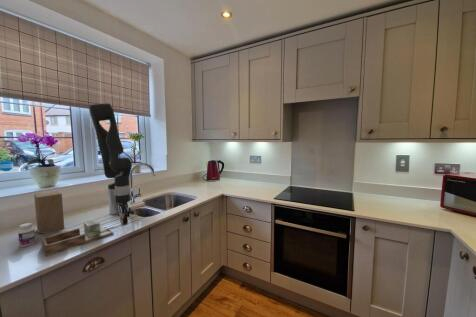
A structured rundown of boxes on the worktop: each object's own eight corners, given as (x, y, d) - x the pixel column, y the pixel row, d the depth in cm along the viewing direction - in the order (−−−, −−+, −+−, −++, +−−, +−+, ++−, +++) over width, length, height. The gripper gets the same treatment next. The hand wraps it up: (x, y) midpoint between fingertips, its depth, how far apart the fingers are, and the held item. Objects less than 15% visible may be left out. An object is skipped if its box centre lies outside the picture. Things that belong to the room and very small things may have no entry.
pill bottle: (19, 243, 97) (17, 224, 96) (35, 240, 101) (34, 221, 100) (19, 248, 93) (17, 227, 92) (35, 244, 97) (33, 224, 96)
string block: (124, 222, 119) (124, 210, 118) (129, 225, 115) (129, 213, 114) (84, 233, 104) (83, 220, 104) (88, 237, 100) (87, 224, 99)
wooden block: (60, 223, 120) (58, 190, 119) (64, 228, 114) (61, 193, 112) (37, 229, 113) (34, 194, 111) (39, 234, 106) (36, 197, 104)
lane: (106, 228, 114) (105, 221, 113) (113, 234, 106) (112, 226, 106) (42, 247, 94) (41, 238, 93) (45, 256, 87) (45, 246, 86)
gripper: (134, 194, 112) (136, 224, 114) (124, 190, 121) (126, 217, 123) (120, 197, 107) (121, 228, 108) (110, 192, 116) (112, 221, 117)
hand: (124, 222), depth 115 cm, fingers closed on string block, 3 cm apart
